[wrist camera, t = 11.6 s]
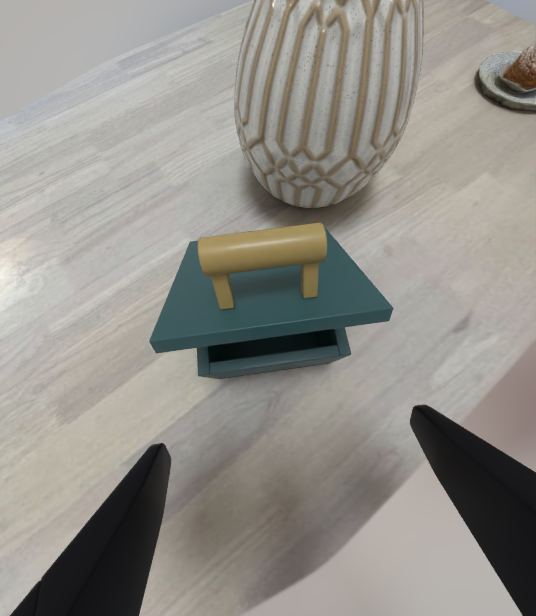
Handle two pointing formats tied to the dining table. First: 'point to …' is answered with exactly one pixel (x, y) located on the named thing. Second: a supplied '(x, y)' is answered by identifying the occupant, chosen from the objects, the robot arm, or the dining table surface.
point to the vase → (325, 93)
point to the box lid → (265, 289)
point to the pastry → (511, 78)
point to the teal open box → (272, 353)
